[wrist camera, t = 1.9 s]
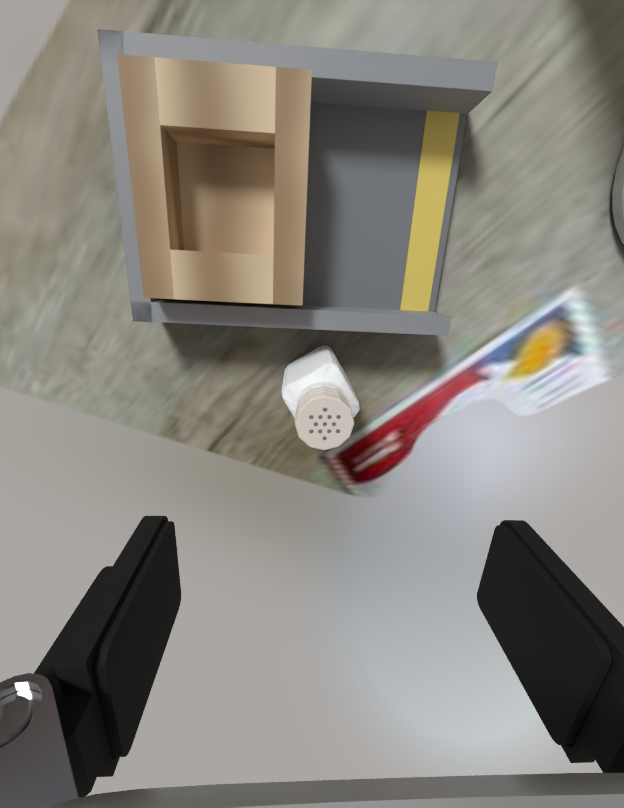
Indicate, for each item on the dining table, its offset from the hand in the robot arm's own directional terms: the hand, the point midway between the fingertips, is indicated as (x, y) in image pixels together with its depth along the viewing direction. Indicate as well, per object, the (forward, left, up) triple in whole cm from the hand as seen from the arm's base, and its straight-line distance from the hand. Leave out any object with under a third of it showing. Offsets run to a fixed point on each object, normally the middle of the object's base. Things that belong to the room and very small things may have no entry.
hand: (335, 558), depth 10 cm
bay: (+2, -11, -19) cm, 22 cm away
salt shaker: (0, 0, -19) cm, 19 cm away
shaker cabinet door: (+6, -11, -18) cm, 22 cm away
